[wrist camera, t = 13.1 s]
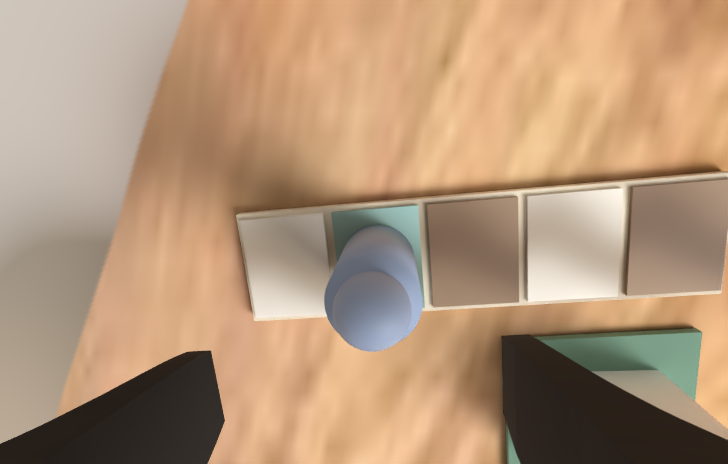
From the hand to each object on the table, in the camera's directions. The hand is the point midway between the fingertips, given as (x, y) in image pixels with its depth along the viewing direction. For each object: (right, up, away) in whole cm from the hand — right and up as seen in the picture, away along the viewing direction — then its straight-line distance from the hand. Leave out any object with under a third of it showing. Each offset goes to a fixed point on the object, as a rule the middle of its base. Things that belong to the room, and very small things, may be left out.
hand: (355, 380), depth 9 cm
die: (+12, -6, +10) cm, 17 cm away
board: (+5, +3, +9) cm, 11 cm away
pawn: (+1, +2, +9) cm, 9 cm away
